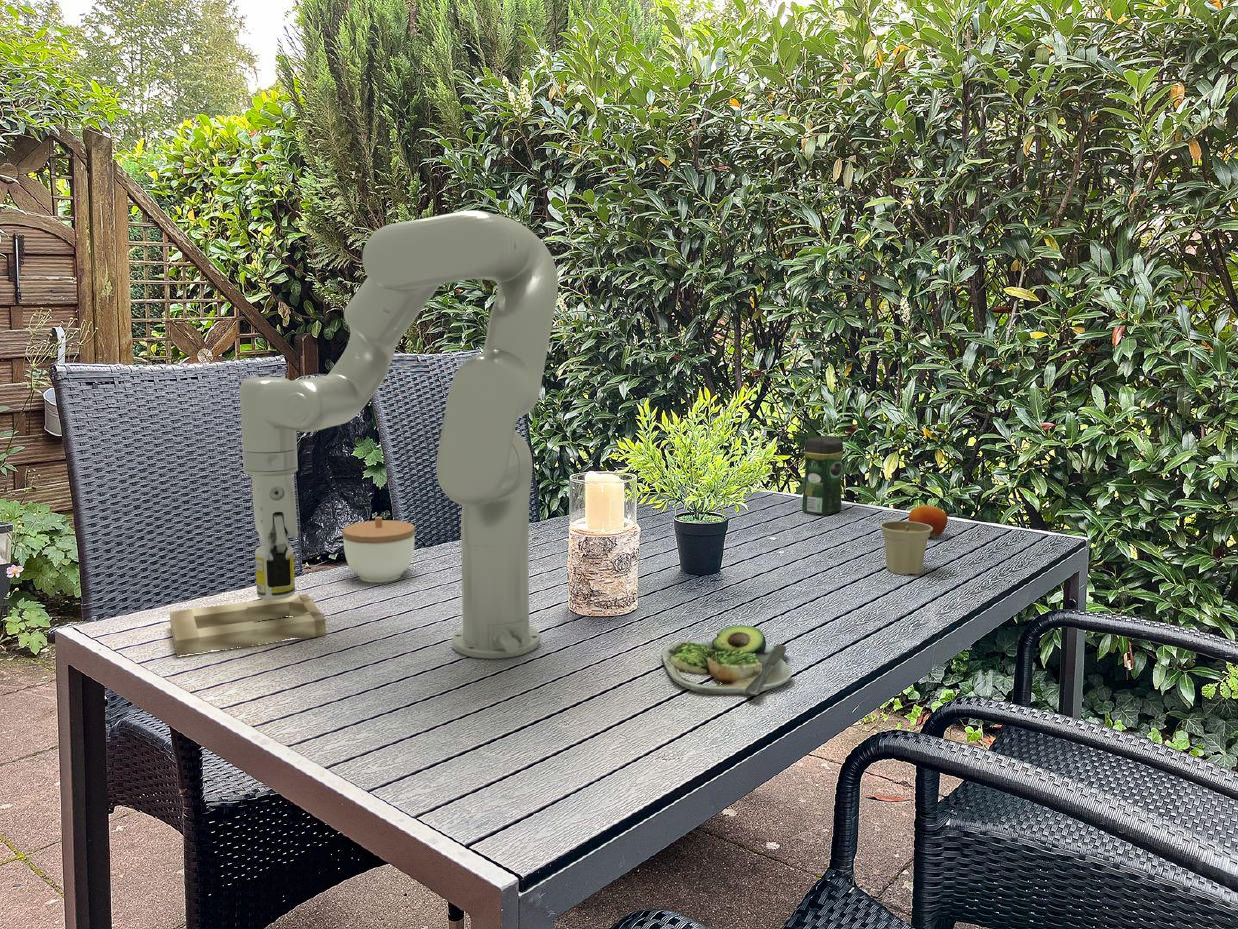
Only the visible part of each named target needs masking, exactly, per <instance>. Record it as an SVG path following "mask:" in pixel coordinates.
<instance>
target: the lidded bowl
mask: <svg viewBox="0 0 1238 929" xmlns="http://www.w3.org/2000/svg"><path fill="white" fill-rule="evenodd" d="M415 534H416V527H415V525H414V524H412V523H410V522H407V521H402V520H393V519H392V520H390V519H389V520H387V519H385V520H383V517H382V516H375V518H374V520H367V521H361V522H356V523H352V524H349V525H347V526H345V527H343V528H342V539H343V550H344V555H345V559H346V562H347V564H348V566H349V568H350V569H351V570H352V572H353V573H354V574H355V575H356V576H358V577H359V580H360V581H362V582H364V583H365V582H366V583H373V584H374V583H388V582H394V581H396V580H398V579H399V580H400V578H401V577H402V574H403V573H404V572H405V571H406V570H407V569H408V568H409V566H410V565H411V563H412V560H413V557H414V551H415Z"/></svg>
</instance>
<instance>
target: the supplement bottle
mask: <svg viewBox="0 0 1238 929" xmlns="http://www.w3.org/2000/svg"><path fill="white" fill-rule="evenodd" d="M258 537H259V538H258V539H259V543H260V546H258V547H257V548H256V549H255V551H254V554H255V555H254V559H255V578H256V580H255V581H256V595H257V597H258V599H260V600H278V599H284V598H288V597H290V596H294V594H295V593H296V583H295V582H296V581H295V579H296V577H295V561H294V559H295V558H294V549H293V547H292V546H291V545H290V544H289V543H288V551H289V558H290V575H291V584H290V585H287V586H279V587H268V584H267V564H266V560H269V559H268V549H267V542H266V541H265V540H263V539H262V538H261V536H260V535H259V534H258ZM288 538H289V535H288V534H287V539H288ZM270 539H276V538H275V535H273V536H270ZM288 540H289V539H288ZM274 545H276V544H272V548H273V546H274Z"/></svg>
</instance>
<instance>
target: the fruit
mask: <svg viewBox="0 0 1238 929" xmlns="http://www.w3.org/2000/svg"><path fill="white" fill-rule="evenodd" d="M908 521H912V522H919V523H923V524H927V525H930V526H931V527H933V530H932V531H931V532H930V537H929V538H933V539H934V540H935V541H937V539H936V538H938V537H940V536H941V535H942V533H944V531H945V530H946V528H947V525H948V521H949V518H948V515H947V513H946V512H945V511H944V510H942V509H941V508H939V507H937V506H934V505H928V504H923V505H920V506H918V507H915V508H912V509H911V510H910V512H909V513H908Z"/></svg>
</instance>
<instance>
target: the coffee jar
mask: <svg viewBox="0 0 1238 929" xmlns="http://www.w3.org/2000/svg"><path fill="white" fill-rule="evenodd" d="M803 448H804V449H803V455H804V463H805V464H804V465H805V466H804V469H805V470H804V481H803V482H804V484H803V492H802V504H801V505H802V506H801V510H802V511H803V512H805V513H807V514H808V515H813V516H816V515H821V516H826V515H831V514H832V515H833V514H836V513H837V512H840V511H842V460H843V454H844V443H843V439H841V438H840V436H835V435H834V436H833V435H819V436H817V437H816V436H815V437H810V438H808V439H807V440H805V441H804V447H803Z"/></svg>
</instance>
